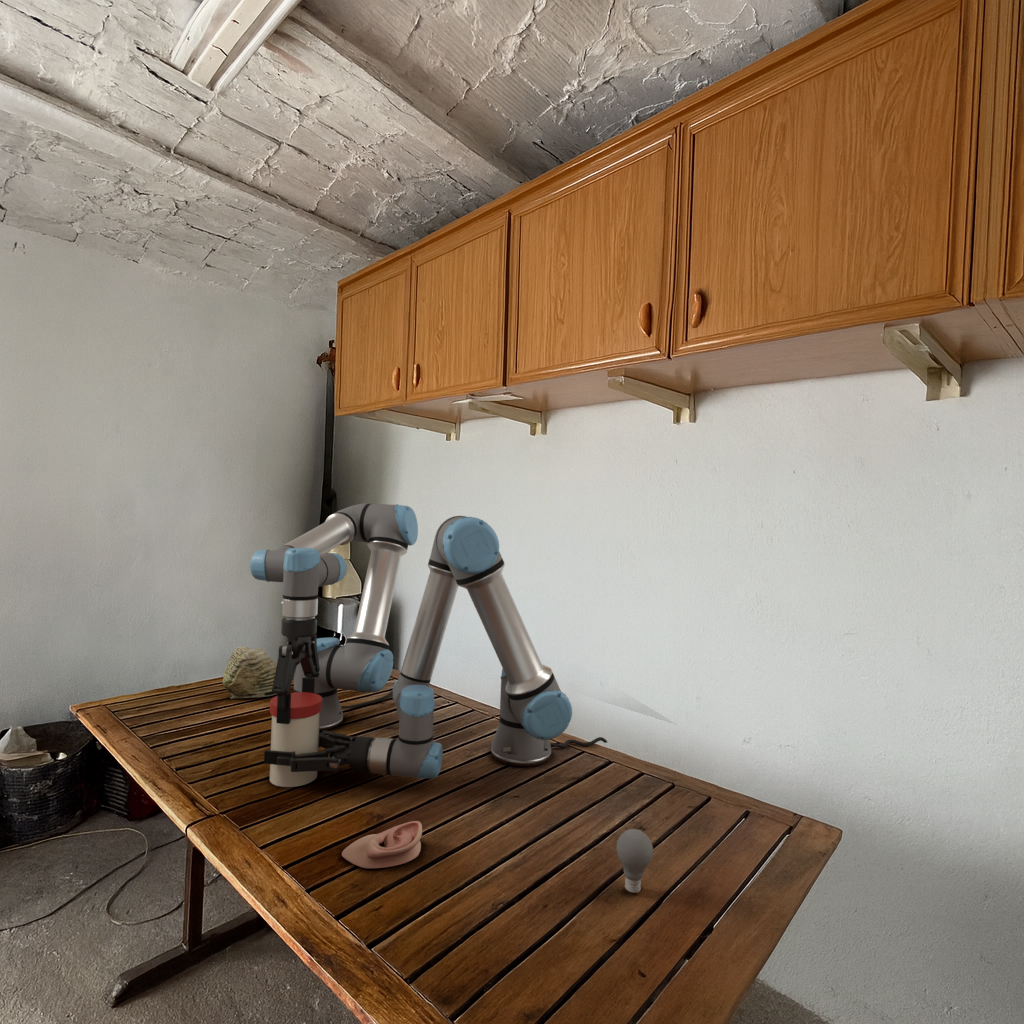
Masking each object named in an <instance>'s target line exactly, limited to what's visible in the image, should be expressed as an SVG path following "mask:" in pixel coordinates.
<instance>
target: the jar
mask: <svg viewBox="0 0 1024 1024" xmlns="http://www.w3.org/2000/svg"><path fill="white" fill-rule="evenodd" d="M319 722H320V712H319V713H318V714H316V715H313V716H310V717H305V718H297V719H290V723H289V724H280V723H277V717H275V716H272V715H271V723H270V727H271V728H270V749H269V750H272V751H284V752H294V751H295V755H297V754H305V753H313V752H319V749H320V747H319V733H320V731H319ZM318 775H319V771H305V772H291V766H284V765H273V764H269V776H268V778H269V779H268V780H269V782H270V783H271V784H272V785H273V786H276V787H280V788H295V787H300V786H305V785H308V784H310V783H312V782H314V781H315V780H316V779H317V778H318Z"/></svg>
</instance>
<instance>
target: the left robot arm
mask: <svg viewBox="0 0 1024 1024" xmlns="http://www.w3.org/2000/svg"><path fill="white" fill-rule="evenodd" d="M418 525H419V523H418V519H417V515H416V513H415V511H414V509H413V508H412V507H410V506H409V505H403V504H396V503H395V504H386V503H385V504H384V503H370V502H369V503H357V504H354V505H350V506H348V507H345V508H343V509H340V510H337V511H336V512H334V513H332V514H329V516H327V518H326V519H325V521H324V522H323V523H321V524H320V525H317V526H316V527H314V528H312V529H310V530H309V531H307V532H304V533H303V534H300V535H299V536H297V537H296V538H294V539H292V540H290V541H289V542H286V543H285V544H283V545H281V546H279V547H277V548H276V549H272V550H271V549H259V550H257V551H255V552H254V553H253V554H252V556H251V559H250V562H249V568H250V574H251V576H252V577H253V578H254V579H255V580H258V581H262V582H263V581H264V582H266V583H270V582H273V583H274V582H275V583H283V585H282V587H283V589H282V591H283V592H282V601H281V606H282V613H281V615H282V619H281V631H280V633H281V635H282V636H284V637H286V638H287V641H286V644H285V645H279V647H278V656H277V663H276V672H275V677H274V682H273V687H272V693H274V694H276V695H277V696H278V697H277V723H280V724H289V723H290V711H291V693H292V692H290V690H291V687H292V684H293V692H308V693H315V694H318V695H320V696H321V697H322V710H321V712H320V722H319V732H322V731H324V730H326V731H330V730H332V729H335V728H337V727H339V726H340V725H342V723H343V722H344V714H343V709H352V708H357V707H362V706H365V705H369V704H372V703H375V702H379V701H383V700H384V699H387V698H389V697H390V696H393V695H392V693H393V690H392V691H391V692H389V693H388V694H386V695H383V696H381V697H378V698H375V699H370V700H368V701H364V702H360V703H355V704H350V705H341V702H340V699H339V695H338V690H344V691H345V690H346V691H353V692H359V693H378V692H380V691H381V690H382V689H383V688H384V687H385V686H386V685H387V684H388V681H389V680H390V677H391V675H392V671H393V668H394V654H393V652H392V651H391V650H390V649H389V646H390V644H389V642H388V641H387V639H386V632H387V628H388V623H389V617H390V613H391V608H392V603H393V597H394V592H395V587H396V581H397V577H398V571H399V567H400V561H401V558H402V557H403V556H405V555H406V554H407V553H408V548H409V546H414V545H415V544H416V542H417V540H418V536H419V535H418V534H419V526H418ZM352 542H355V543H359V542H360V543H361V542H362V543H367V545H366V546H367V547H368V549H369V550H370V556H369V560H368V565H367V570H366V575H365V580H364V584H363V589H362V593H361V598H360V602H359V608H358V610H357V611H358V612H357V616H356V621H355V625H354V631H353V632H352V634H350V635H349V636H347V638H346V641H345V645H342V644H340V643H341V641H340V639H339V638H338V637H318V635H317V631H318V630H317V629H318V619H317V617H316V616H318V610H319V609H318V607H319V587H326V586H333V585H335V584H337V583H339V582H341V581H342V580H343V579H344V578H345V576H346V574H347V570H348V566H347V562H346V560H345V558H344V557H343V556H342V555H341V554H339V553H335V552H331V551H332V550H334V549H335V548H337V547H338V546H345V545H347V544H349V543H352Z"/></svg>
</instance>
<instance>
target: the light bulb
mask: <svg viewBox="0 0 1024 1024" xmlns="http://www.w3.org/2000/svg"><path fill="white" fill-rule="evenodd" d="M615 849H616V854H617V857H618V859H619V861H620V863H621V865H622V867H623V873H624V874H623V875H624V876H625V878H624V888H625V890H627V891H628V892H630V893H634V894H635V893H639V892H640V891H641V889H642V887H641V886H642V879H643V877H644V875H645V871H646V868H647V867H648V866H649V864H650V863H651V861H652V859H653V855H654V847H653V843H652V841H651V838H649V836H648V835H647V834H646V833H645V832H643V831H642V830H641V829H636V828H629V829H627V830H625V831H623V832H622V833H621V834H620V835H619V837H618V839H617V841H616V847H615Z"/></svg>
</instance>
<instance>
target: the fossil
mask: <svg viewBox="0 0 1024 1024" xmlns="http://www.w3.org/2000/svg"><path fill="white" fill-rule="evenodd" d="M276 667H277V664H276V663H275V662H274V660H273V659H272V658H271V657H270V656H269V655H268V654H267V653H266V652H265V650H264V649H263V648H260V647H258V648H251V647H247V646H246V647H245V646H238V647H237V648H236V649H235V650H233V651H232V653H231V656H230V657H229V659H228V660H227V663H226V666H225V668H224V671H223V675H222V676H223V677H222V685H223V687H224V688H225V690H226V691H228V693H229V698H230V699H250V698H264V697H271V696H275V695H276V696H277V694H274V693H272V687H273V682H274V677H275V672H276Z"/></svg>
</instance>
